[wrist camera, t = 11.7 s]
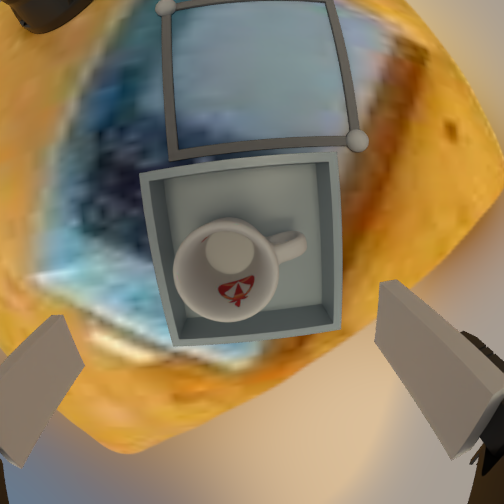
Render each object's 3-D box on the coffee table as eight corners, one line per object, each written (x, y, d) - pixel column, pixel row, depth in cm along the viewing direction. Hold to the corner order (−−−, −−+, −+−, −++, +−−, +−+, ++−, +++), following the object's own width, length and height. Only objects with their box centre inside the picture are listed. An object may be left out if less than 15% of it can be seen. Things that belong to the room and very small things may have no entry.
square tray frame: (158, 7, 22) (153, -2, 19) (334, -3, 22) (339, -13, 19) (165, 169, 27) (159, 169, 25) (364, 152, 27) (373, 151, 25)
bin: (156, 173, 27) (139, 173, 22) (320, 155, 27) (336, 151, 22) (182, 321, 31) (173, 346, 26) (327, 306, 31) (340, 329, 26)
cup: (284, 190, 27) (301, 196, 19) (305, 265, 29) (325, 296, 21) (179, 222, 27) (156, 241, 20) (206, 294, 29) (194, 333, 22)
